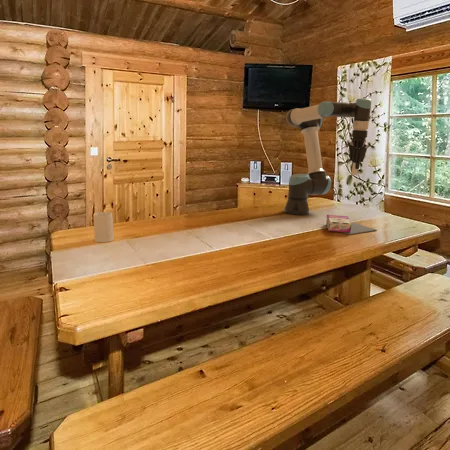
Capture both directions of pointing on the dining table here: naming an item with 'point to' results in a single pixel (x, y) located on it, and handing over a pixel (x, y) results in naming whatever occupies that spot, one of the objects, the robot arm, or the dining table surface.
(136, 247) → the dining table surface
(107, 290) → the dining table surface
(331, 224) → the candy bar box
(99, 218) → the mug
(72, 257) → the dining table surface
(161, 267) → the dining table surface
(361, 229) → the rubber mat
